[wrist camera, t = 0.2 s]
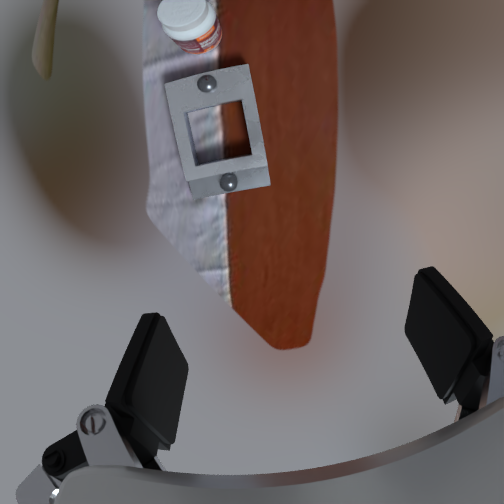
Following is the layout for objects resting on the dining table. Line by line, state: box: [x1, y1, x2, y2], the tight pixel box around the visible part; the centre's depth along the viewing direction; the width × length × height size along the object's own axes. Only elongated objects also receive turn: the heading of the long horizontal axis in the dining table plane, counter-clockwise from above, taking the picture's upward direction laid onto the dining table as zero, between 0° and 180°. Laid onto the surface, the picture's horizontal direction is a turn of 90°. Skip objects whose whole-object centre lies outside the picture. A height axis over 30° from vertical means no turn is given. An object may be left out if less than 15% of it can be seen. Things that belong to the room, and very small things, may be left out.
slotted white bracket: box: [165, 64, 271, 200], centre depth 33 cm, size 17×11×3 cm, turn 10°
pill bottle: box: [157, 0, 222, 54], centre depth 22 cm, size 6×6×11 cm
